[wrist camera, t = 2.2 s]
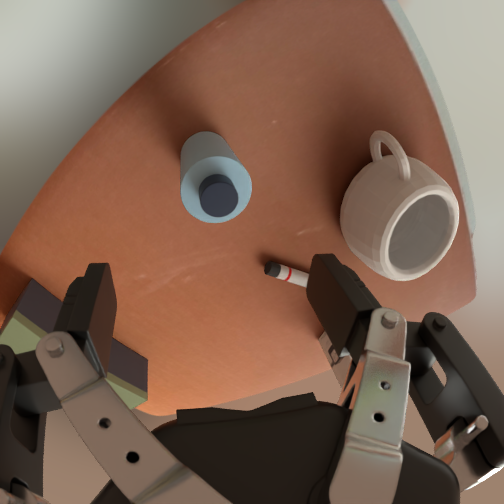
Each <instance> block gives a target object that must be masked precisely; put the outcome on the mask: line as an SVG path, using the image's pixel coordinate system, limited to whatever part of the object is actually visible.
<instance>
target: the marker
mask: <svg viewBox="0 0 504 504" xmlns="http://www.w3.org/2000/svg"><path fill="white" fill-rule="evenodd" d="M264 272H265V274H266V275H270V276H273V277H275V278H278V279H281V280H285V281H288V282H291V283H294V284H297V285H301V286H304V287H306V286H307V281H308V277H309V274H308V273H305V272H302V271H299V270H296V269H293V268H290V267H287V266H284V265H281V264H277V263H275V262H272V261H268V262H267V264H266V265H265V269H264Z"/></svg>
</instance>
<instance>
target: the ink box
mask: <svg viewBox="0 0 504 504" xmlns="http://www.w3.org/2000/svg"><path fill="white" fill-rule="evenodd" d="M319 343H320V345H321V347H322V349H323V351H324V353H325V355H326V357H327V359H328V361H329V363H330V365H331V367H332V369H333V371H334V373H335V375H336V378H337V380H338V382H339V384H340V386H341V388H343V384H344V381H345V378H346V374H347V371H348V368H349V364H350V362H351V360H352V357H351V356H350V355H348V356H343V357H339V356H338V354H337V352H336V350H335V348H334V347H333V345H332V343H331V341H330V339H329V337H328V335H327V333H326V332H325V331H324V333H323V334H322V335H321V337H320V338H319Z"/></svg>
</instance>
